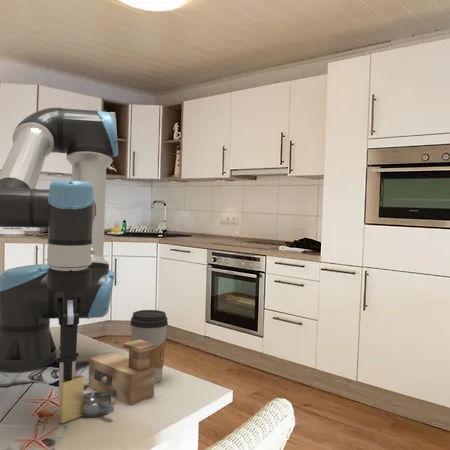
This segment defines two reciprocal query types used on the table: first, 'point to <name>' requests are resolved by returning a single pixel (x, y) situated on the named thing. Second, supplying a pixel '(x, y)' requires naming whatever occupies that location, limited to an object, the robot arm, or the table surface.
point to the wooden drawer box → (125, 373)
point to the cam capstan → (82, 400)
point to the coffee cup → (151, 335)
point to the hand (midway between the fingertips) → (66, 394)
